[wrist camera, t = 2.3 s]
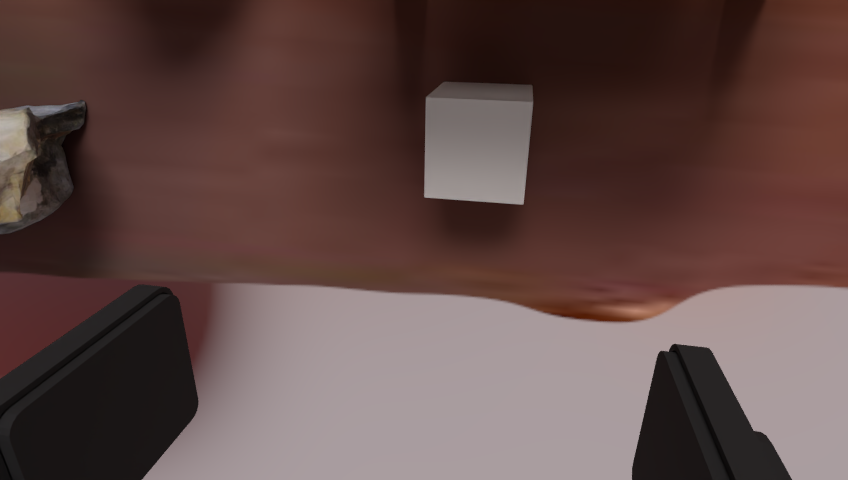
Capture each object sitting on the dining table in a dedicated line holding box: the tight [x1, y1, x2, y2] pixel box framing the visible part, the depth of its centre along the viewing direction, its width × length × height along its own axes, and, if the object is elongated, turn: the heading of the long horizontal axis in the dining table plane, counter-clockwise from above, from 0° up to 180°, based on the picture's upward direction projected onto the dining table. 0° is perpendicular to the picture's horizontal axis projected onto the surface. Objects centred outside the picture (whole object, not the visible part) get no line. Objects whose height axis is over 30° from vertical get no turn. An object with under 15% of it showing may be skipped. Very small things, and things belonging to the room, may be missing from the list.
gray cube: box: [424, 82, 533, 205], centre depth 28 cm, size 5×5×6 cm
